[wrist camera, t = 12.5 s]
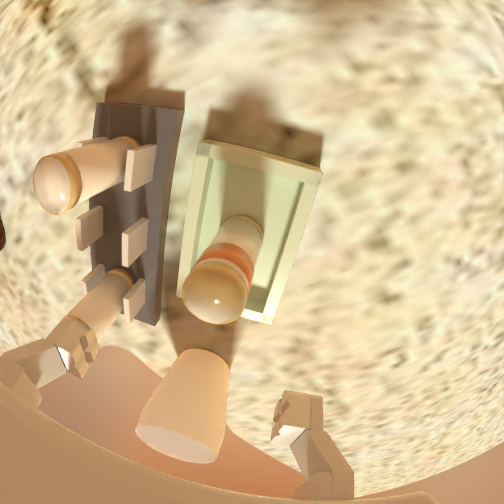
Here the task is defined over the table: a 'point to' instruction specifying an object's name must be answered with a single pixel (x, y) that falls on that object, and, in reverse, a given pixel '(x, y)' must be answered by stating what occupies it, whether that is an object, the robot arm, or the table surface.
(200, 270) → the fuse marked
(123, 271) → the fuse
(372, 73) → the table surface
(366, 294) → the table surface
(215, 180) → the tray
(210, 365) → the cup
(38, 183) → the fuse
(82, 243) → the fuse block
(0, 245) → the coffee cup
